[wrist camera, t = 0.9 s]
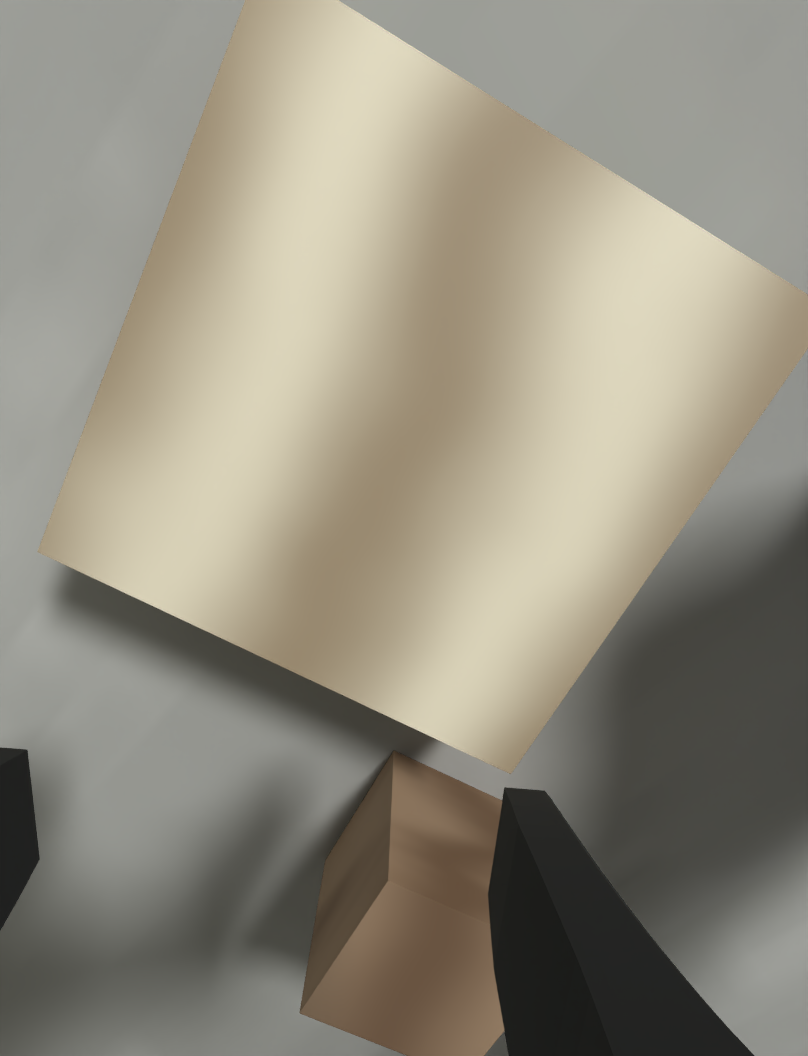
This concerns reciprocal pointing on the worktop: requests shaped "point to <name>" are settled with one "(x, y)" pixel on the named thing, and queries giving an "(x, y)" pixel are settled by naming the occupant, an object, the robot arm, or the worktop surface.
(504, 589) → the birch pedestal
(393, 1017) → the walnut cube
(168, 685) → the worktop surface
